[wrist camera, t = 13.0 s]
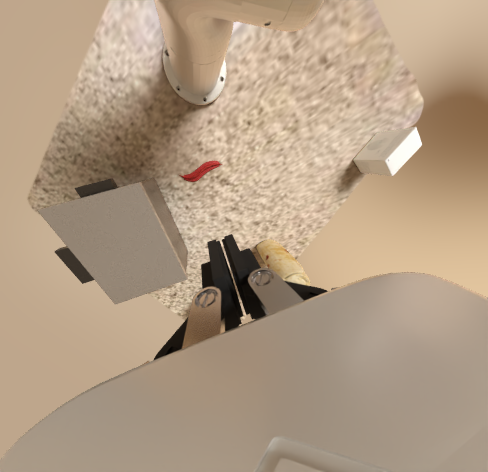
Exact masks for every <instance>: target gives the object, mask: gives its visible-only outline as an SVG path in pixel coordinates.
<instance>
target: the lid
mask: <svg viewBox="0 0 488 472" xmlns="http://www.w3.org/2000/svg"><path fill="white" fill-rule="evenodd" d="M37 211H38V212H39V213H40V214H41V215H42V217H43V218H44V219H45V220H46V221H47V223H48V224H49V225H50V226H51V227H52V229H53V230H54V231H55V232H56V233H57V235H58V236H59V237H60V238H61V239H62V241H63V242H64V243H65V244H66V245H67V246H66V247H63V248H60V249H58V250H56V251H55V253H56V254H57V255H58V256H59V258H60V259H61V260H62V261H63V262H64V263H65V264H66V266H67V267H68V268H69V269H70V270H71V271H72V272H73V273H74V275H75V276H76V277H77V278H78V279H79V280H80V281H81V282H82V284H83V283H86V282H89V281H92V280H95V281H96V282H97V283H98V284H99V285H100V287H101V288H102V289H103V290H104V291H105V293H106V294H107V295H108V296H109V297H110V299H111V300H112V301H113V302H114V303H115V304H118V303H121V302H124V301H127V300H129V299H132V298H135V297H138V296H141V295H143V294H147V293H150V292H152V291H155V290H158V289H161V288H164V287H167V286H170V285H172V284H175V283H178V282H181V281H184V280H187V279H188V275H187V273H186V271H185V269H184V267H183V265H182V263H181V261H180V259H179V257H178V255H177V253H176V251H175V249H174V247H173V245H172V243H171V241H170V239H169V237H168V235H167V233H166V231H165V229H164V227H163V225H162V223H161V221H160V219H159V217H158V215H157V213H156V211H155V209H154V207H153V205H152V203H151V201H150V199H149V197H148V195H147V193H146V191H145V189H144V187H143V185H142V183H141V182H138V183H134V184H130V185H127V186H123V187H119V188H116V189H112V190H108V191H105V192H101V193H97V194H93V195H90V196H86V197H82V198H79V199H75V200H71V201H68V202H64V203H60V204H57V205H53V206H49V207H45V208H42V209H39V210H37Z"/></svg>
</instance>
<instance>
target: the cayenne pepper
mask: <svg viewBox="0 0 488 472" xmlns="http://www.w3.org/2000/svg"><path fill="white" fill-rule="evenodd" d="M219 165H221V164H219V162H218V161H209V162H206V163H204V164H203V165H201V166H200V167H199V168H198V169H197V170H195V171H194V172H193V173H191V174H188V175H184V176H181V175H179V176H181V177H183V178H184V180H187V181H192V182H193V181H197V180H199V179H200V178H201V177H202V176H203V175H204V174H205V173H207V172H208V171H210V170H212V169H214V168H216V167H219Z"/></svg>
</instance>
